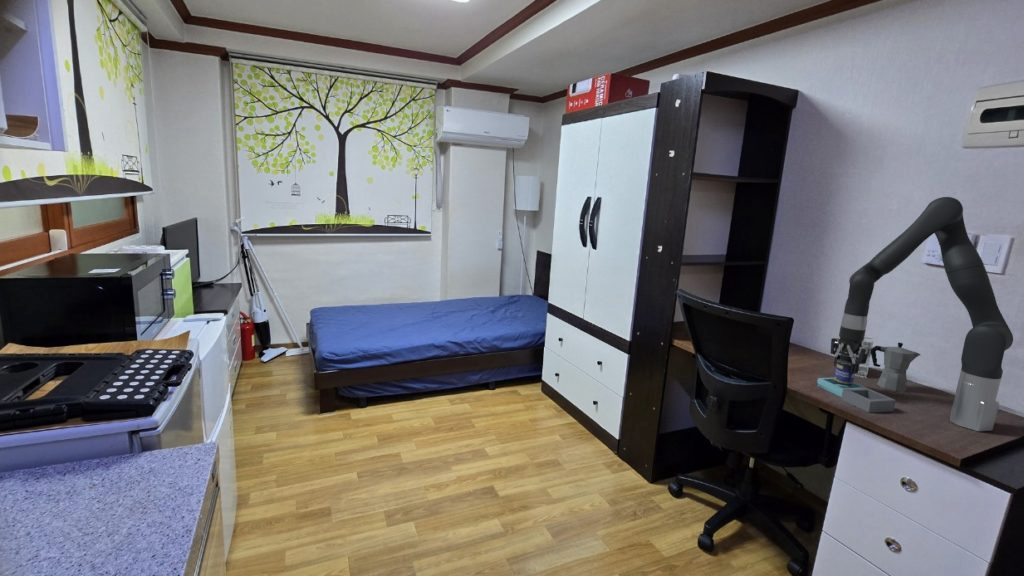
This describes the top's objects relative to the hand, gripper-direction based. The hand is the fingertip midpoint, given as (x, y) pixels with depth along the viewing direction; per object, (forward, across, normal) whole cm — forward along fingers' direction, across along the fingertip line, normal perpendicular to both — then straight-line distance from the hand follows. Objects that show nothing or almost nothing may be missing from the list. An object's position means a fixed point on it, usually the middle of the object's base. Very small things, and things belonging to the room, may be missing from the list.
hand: (845, 370), depth 177 cm
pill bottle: (+5, 0, 0) cm, 5 cm away
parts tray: (+8, 0, 0) cm, 8 cm away
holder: (+8, -13, +3) cm, 15 cm away
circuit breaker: (+8, +18, -26) cm, 33 cm away
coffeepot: (+8, +2, -23) cm, 25 cm away
